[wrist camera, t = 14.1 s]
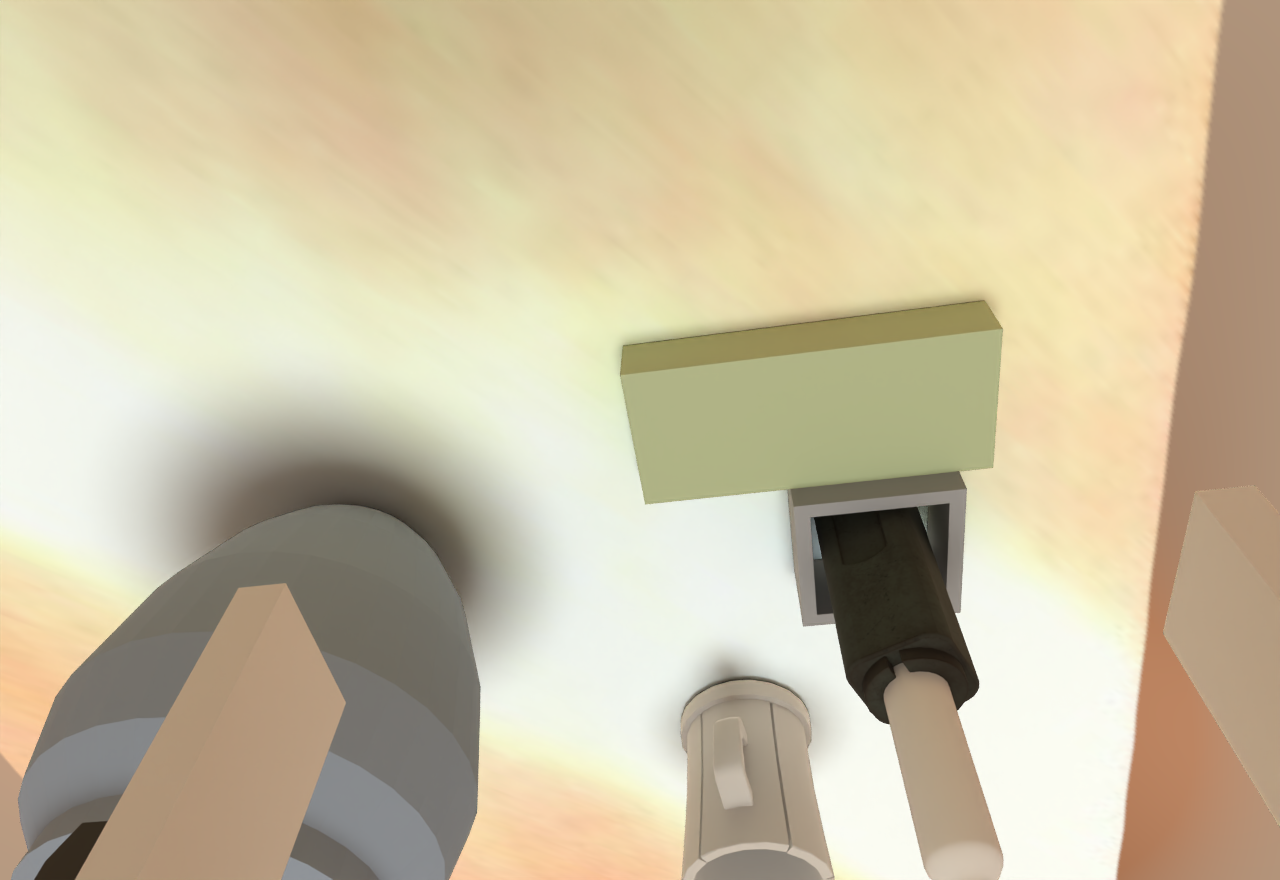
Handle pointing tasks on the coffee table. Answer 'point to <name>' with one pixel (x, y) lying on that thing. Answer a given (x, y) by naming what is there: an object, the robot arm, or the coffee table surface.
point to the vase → (360, 664)
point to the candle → (912, 678)
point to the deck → (825, 422)
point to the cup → (750, 787)
